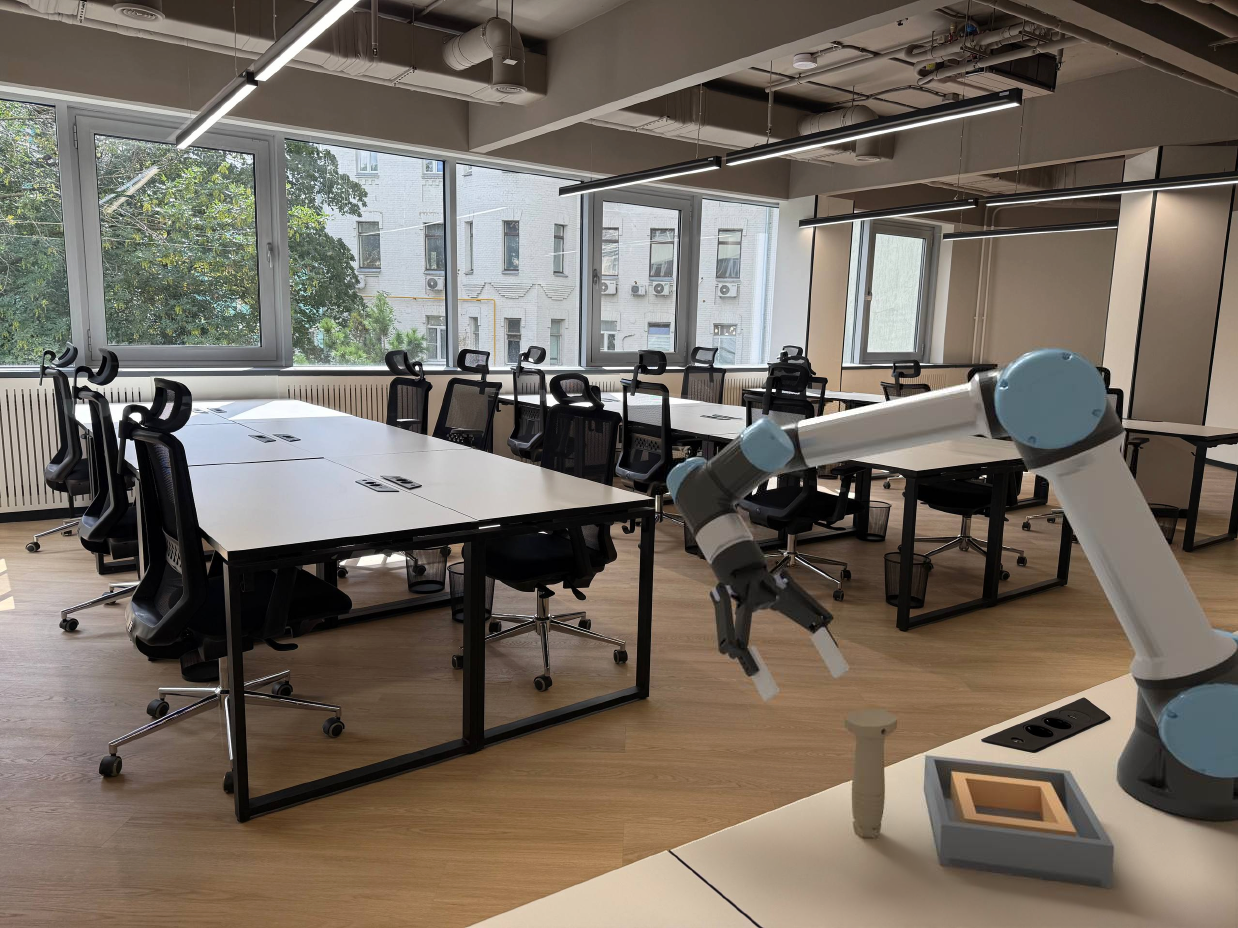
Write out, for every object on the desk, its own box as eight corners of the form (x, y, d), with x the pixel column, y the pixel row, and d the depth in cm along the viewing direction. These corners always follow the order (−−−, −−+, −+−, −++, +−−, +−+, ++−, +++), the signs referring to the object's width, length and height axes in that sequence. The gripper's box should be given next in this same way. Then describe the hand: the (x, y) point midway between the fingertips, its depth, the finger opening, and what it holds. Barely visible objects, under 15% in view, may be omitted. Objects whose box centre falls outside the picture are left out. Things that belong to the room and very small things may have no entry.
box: (1067, 806, 110) (1069, 770, 110) (1110, 888, 93) (1114, 845, 92) (923, 789, 115) (925, 754, 114) (939, 864, 97) (941, 824, 97)
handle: (900, 836, 103) (905, 720, 101) (858, 847, 101) (862, 729, 99) (874, 817, 108) (879, 706, 106) (833, 827, 105) (837, 714, 104)
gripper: (778, 555, 130) (852, 677, 120) (652, 579, 116) (724, 719, 106) (805, 527, 125) (885, 651, 115) (677, 548, 111) (755, 692, 101)
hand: (808, 684), depth 110 cm, fingers open, 13 cm apart
